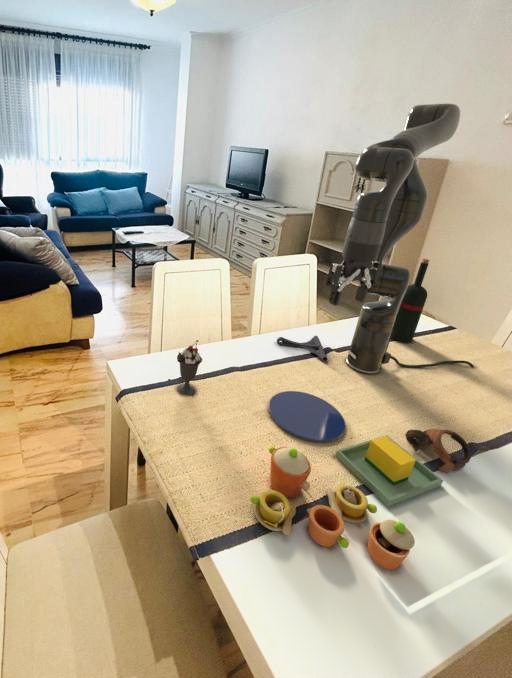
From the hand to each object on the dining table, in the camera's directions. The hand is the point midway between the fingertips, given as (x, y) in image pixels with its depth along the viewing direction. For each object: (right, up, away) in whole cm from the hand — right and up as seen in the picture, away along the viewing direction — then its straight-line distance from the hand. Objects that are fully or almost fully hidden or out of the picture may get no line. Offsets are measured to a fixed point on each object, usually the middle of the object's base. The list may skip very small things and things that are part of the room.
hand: (346, 302), depth 95 cm
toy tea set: (-16, -39, -24) cm, 49 cm away
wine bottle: (+41, -15, +45) cm, 63 cm away
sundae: (-39, -24, +10) cm, 47 cm away
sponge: (+2, -35, -13) cm, 38 cm away
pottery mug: (+15, -35, -8) cm, 39 cm away
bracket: (+1, -17, +35) cm, 38 cm away
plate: (-10, -29, +2) cm, 31 cm away
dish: (+2, -36, -13) cm, 38 cm away
